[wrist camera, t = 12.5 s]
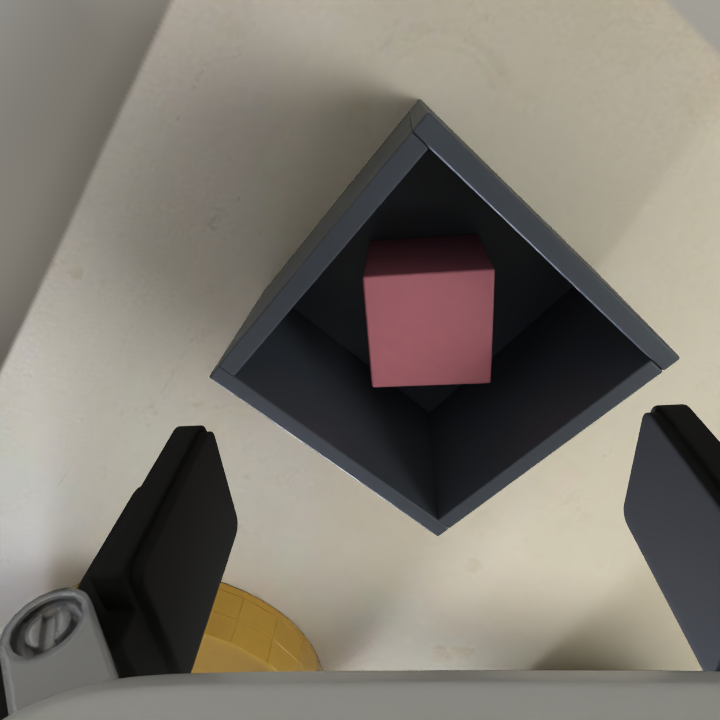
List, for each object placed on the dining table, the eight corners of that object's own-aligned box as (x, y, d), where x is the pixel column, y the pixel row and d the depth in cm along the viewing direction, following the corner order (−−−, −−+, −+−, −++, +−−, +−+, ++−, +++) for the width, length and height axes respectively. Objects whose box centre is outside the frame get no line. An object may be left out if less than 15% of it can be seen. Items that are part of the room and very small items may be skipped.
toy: (376, 337, 24) (371, 388, 20) (369, 240, 22) (361, 277, 18) (476, 332, 23) (491, 383, 19) (478, 233, 21) (495, 268, 17)
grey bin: (429, 419, 26) (437, 537, 20) (263, 292, 24) (208, 377, 17) (597, 272, 22) (681, 358, 15) (419, 98, 19) (428, 111, 13)
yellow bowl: (98, 735, 44) (75, 785, 41) (-1, 569, 34) (-40, 618, 31) (336, 744, 42) (331, 797, 38) (301, 569, 32) (290, 621, 29)
